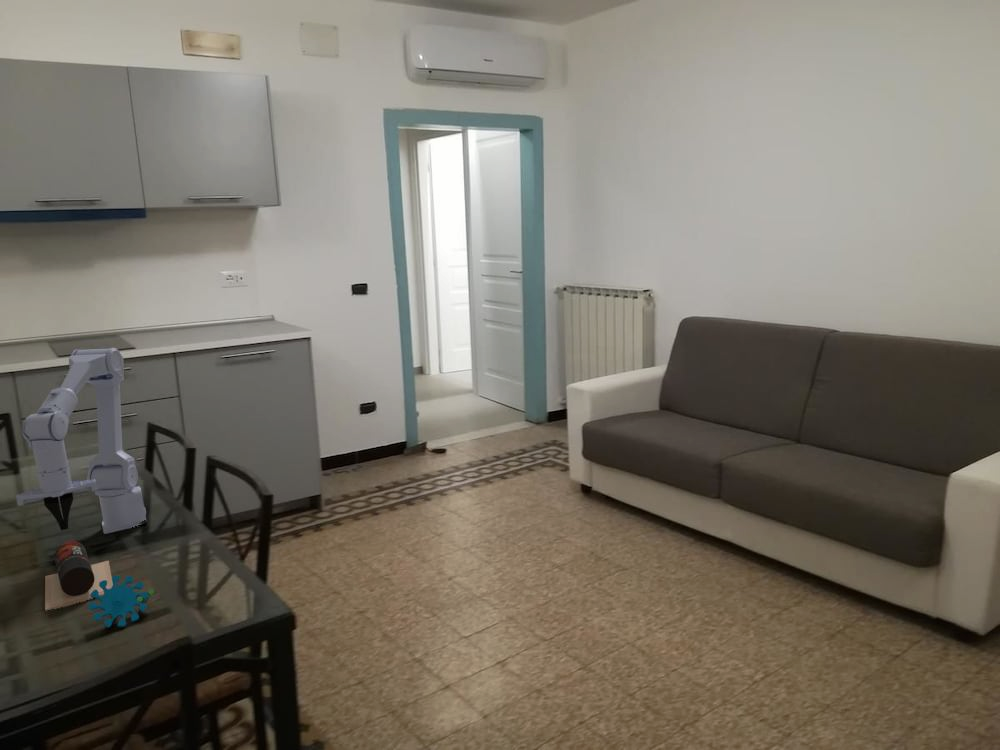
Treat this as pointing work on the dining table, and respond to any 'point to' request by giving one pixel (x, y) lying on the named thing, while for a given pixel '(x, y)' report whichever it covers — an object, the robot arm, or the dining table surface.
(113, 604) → the blue virus model
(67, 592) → the deodorant
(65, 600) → the pink flat board
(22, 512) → the dining table surface
